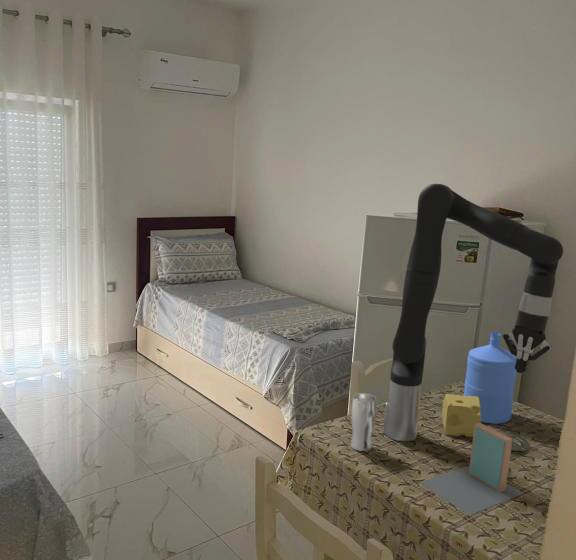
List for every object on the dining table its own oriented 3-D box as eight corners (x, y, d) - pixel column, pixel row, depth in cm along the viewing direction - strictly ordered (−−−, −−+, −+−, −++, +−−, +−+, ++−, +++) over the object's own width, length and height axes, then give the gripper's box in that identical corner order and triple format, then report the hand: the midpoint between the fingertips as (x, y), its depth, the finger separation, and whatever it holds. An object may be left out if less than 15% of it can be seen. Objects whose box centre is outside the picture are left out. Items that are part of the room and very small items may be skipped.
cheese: (479, 440, 172) (483, 409, 170) (442, 435, 174) (446, 404, 172) (475, 425, 182) (479, 396, 180) (440, 421, 184) (443, 391, 182)
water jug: (492, 429, 180) (503, 343, 175) (451, 410, 193) (460, 330, 187) (520, 418, 189) (531, 337, 184) (480, 401, 202) (489, 325, 196)
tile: (468, 473, 151) (474, 424, 148) (473, 471, 152) (479, 422, 149) (499, 492, 143) (506, 440, 140) (505, 490, 144) (512, 438, 141)
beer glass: (343, 446, 164) (347, 396, 161) (358, 438, 169) (361, 390, 166) (363, 455, 159) (367, 404, 157) (377, 447, 164) (382, 398, 162)
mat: (419, 484, 146) (419, 482, 146) (472, 466, 156) (472, 464, 156) (468, 517, 133) (469, 515, 132) (523, 495, 143) (523, 493, 143)
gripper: (504, 305, 154) (491, 367, 157) (555, 318, 146) (541, 383, 149) (513, 303, 159) (500, 362, 162) (563, 316, 151) (549, 377, 154)
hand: (520, 372), depth 156 cm, fingers closed
